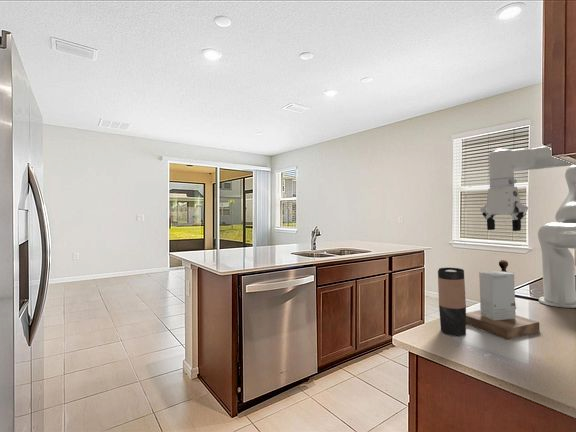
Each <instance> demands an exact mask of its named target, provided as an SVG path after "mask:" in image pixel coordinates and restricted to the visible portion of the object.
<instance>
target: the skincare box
mask: <svg viewBox="0 0 576 432" xmlns="http://www.w3.org/2000/svg"><path fill="white" fill-rule="evenodd" d="M478 274H479V275H478V276H479V277H478V278H479V301H480V302H479V303H480V309H479V310H481V316H484V317H486V318H488V319H490V320H492V321H497V320H507V319H516V315H517V314H516V307H515V304H516V295H515V294H516V293H515V292H516V291H515V289H516V288H515V273H512V272H508V271H507V272H502V270H497V271H491V270H489V271H479V272H478Z"/></svg>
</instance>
